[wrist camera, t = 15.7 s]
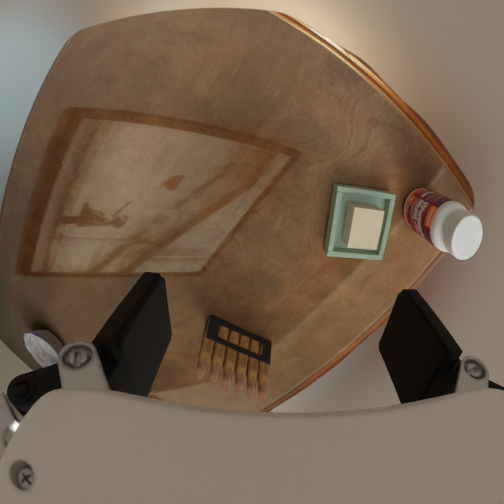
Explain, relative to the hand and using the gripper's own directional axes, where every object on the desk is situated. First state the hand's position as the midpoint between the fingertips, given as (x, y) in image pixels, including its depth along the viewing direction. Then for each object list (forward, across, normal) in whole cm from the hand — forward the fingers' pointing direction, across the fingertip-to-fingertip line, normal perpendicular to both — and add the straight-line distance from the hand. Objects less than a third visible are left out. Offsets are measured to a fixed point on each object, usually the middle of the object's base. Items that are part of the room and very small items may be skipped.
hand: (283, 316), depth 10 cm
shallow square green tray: (+24, -12, +3) cm, 27 cm away
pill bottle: (+24, -21, 0) cm, 32 cm away
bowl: (+24, +47, +35) cm, 64 cm away
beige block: (+24, -12, +3) cm, 26 cm away
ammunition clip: (+24, +3, +22) cm, 33 cm away
